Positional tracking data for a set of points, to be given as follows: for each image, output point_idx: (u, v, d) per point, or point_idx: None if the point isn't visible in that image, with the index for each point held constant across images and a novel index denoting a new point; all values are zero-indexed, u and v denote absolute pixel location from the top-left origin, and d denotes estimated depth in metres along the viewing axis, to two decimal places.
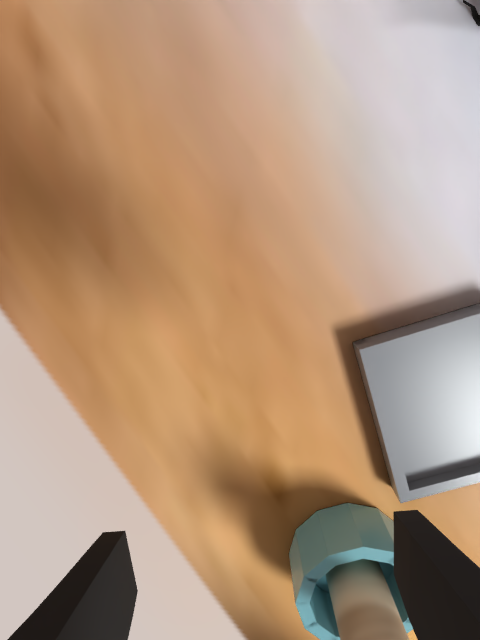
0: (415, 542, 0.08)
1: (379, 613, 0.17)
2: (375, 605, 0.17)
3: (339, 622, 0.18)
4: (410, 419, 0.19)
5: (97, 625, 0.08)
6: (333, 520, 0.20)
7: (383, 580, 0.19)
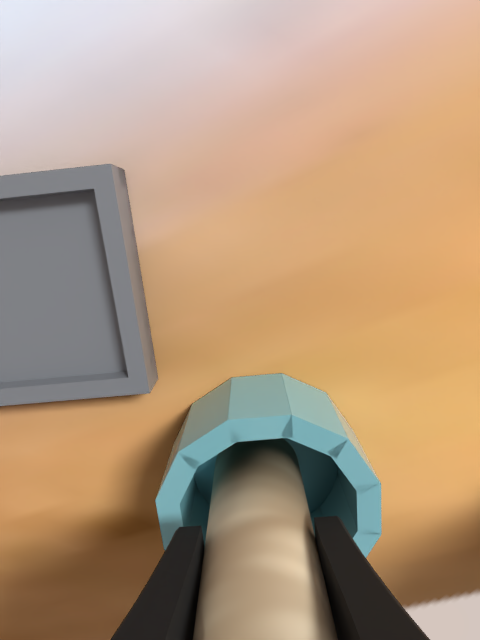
0: (323, 548, 0.08)
1: (203, 563, 0.09)
2: (204, 553, 0.10)
3: None
4: (20, 349, 0.13)
5: (190, 619, 0.08)
6: None
7: (232, 480, 0.11)
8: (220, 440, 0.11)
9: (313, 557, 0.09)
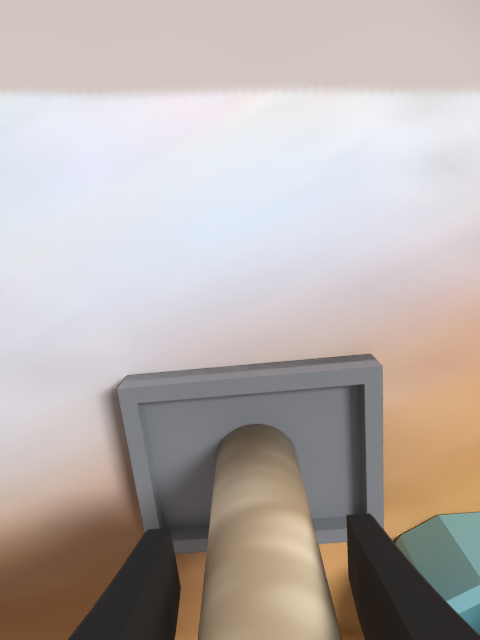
0: (360, 546, 0.08)
1: (208, 548, 0.10)
2: (208, 539, 0.10)
3: None
4: None
5: (152, 621, 0.08)
6: None
7: (233, 471, 0.11)
8: (473, 598, 0.13)
9: (310, 538, 0.09)
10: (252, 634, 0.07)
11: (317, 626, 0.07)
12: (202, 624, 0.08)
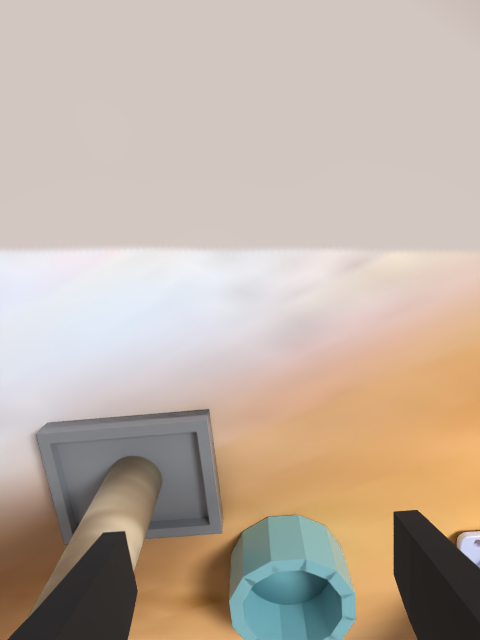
0: (415, 542, 0.08)
1: None
2: (76, 531, 0.17)
3: None
4: None
5: (97, 625, 0.08)
6: None
7: (102, 489, 0.18)
8: (266, 571, 0.19)
9: (130, 531, 0.16)
10: (64, 576, 0.14)
11: None
12: (51, 575, 0.15)
